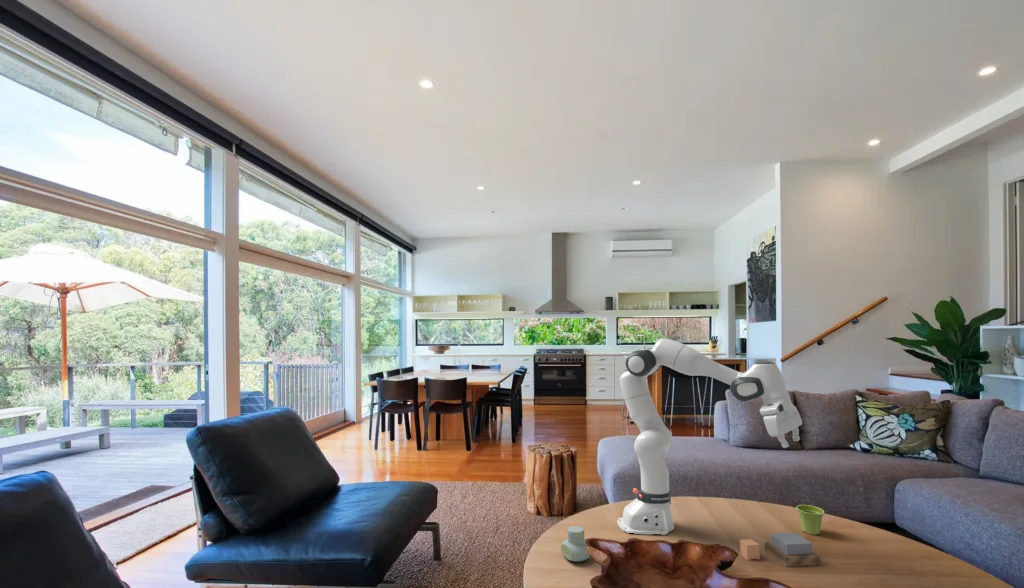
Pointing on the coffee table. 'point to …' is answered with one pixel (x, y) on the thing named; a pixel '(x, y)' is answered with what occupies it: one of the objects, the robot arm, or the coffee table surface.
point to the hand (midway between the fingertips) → (791, 443)
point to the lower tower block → (791, 557)
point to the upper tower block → (791, 543)
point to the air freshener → (575, 545)
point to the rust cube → (749, 549)
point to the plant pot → (810, 518)
